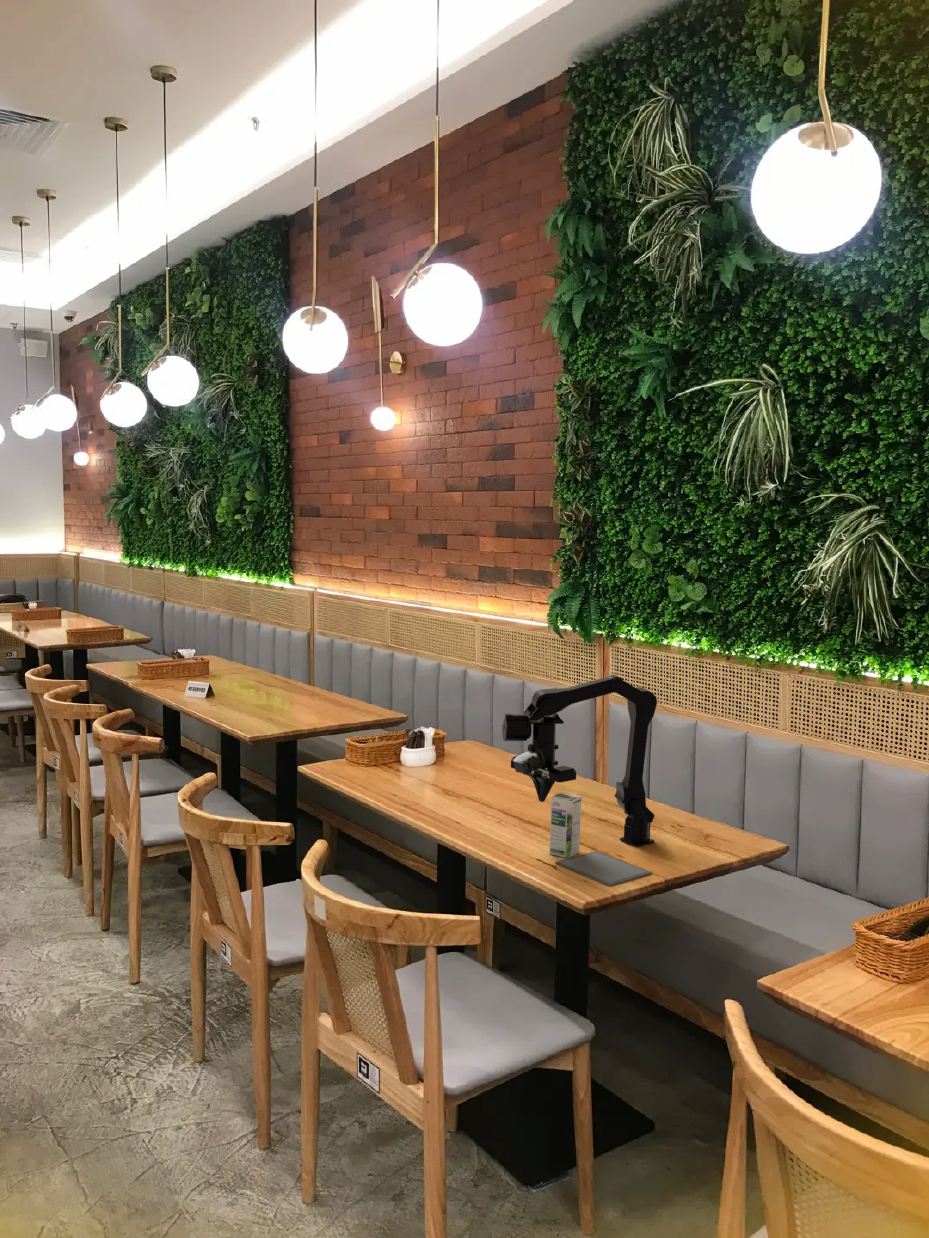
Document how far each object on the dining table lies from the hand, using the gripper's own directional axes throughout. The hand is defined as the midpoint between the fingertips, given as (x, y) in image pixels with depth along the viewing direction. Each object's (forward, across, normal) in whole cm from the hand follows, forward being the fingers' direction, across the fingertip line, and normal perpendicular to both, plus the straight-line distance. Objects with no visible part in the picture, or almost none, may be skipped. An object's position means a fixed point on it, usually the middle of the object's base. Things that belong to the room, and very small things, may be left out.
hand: (541, 801), depth 242 cm
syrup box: (+11, +9, 0) cm, 14 cm away
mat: (+11, +22, 0) cm, 24 cm away
